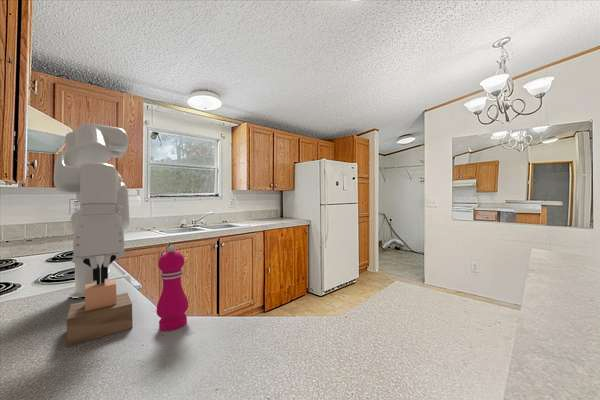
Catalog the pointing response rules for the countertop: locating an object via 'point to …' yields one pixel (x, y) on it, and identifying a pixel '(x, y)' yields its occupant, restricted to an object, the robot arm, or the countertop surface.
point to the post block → (98, 320)
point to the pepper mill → (172, 292)
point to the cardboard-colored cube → (100, 294)
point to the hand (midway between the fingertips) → (100, 282)
